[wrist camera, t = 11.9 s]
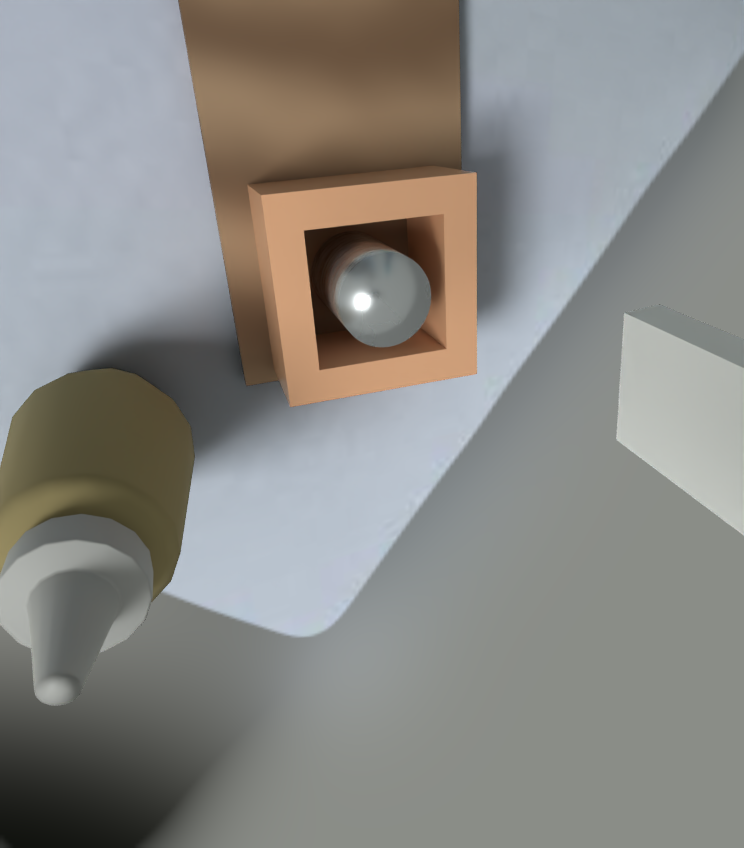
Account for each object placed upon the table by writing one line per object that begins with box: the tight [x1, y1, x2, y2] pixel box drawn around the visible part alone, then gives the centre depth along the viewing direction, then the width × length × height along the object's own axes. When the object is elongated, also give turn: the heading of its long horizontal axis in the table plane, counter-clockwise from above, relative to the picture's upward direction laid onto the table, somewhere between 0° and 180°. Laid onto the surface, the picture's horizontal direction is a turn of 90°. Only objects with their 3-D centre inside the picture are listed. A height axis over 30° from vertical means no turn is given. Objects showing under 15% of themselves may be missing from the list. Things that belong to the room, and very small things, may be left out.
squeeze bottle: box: [0, 368, 195, 706], centre depth 25 cm, size 8×8×18 cm
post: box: [311, 231, 431, 347], centre depth 30 cm, size 4×4×6 cm
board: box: [178, 0, 461, 386], centre depth 31 cm, size 18×12×1 cm, turn 5°
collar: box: [247, 166, 477, 407], centre depth 30 cm, size 9×9×5 cm
